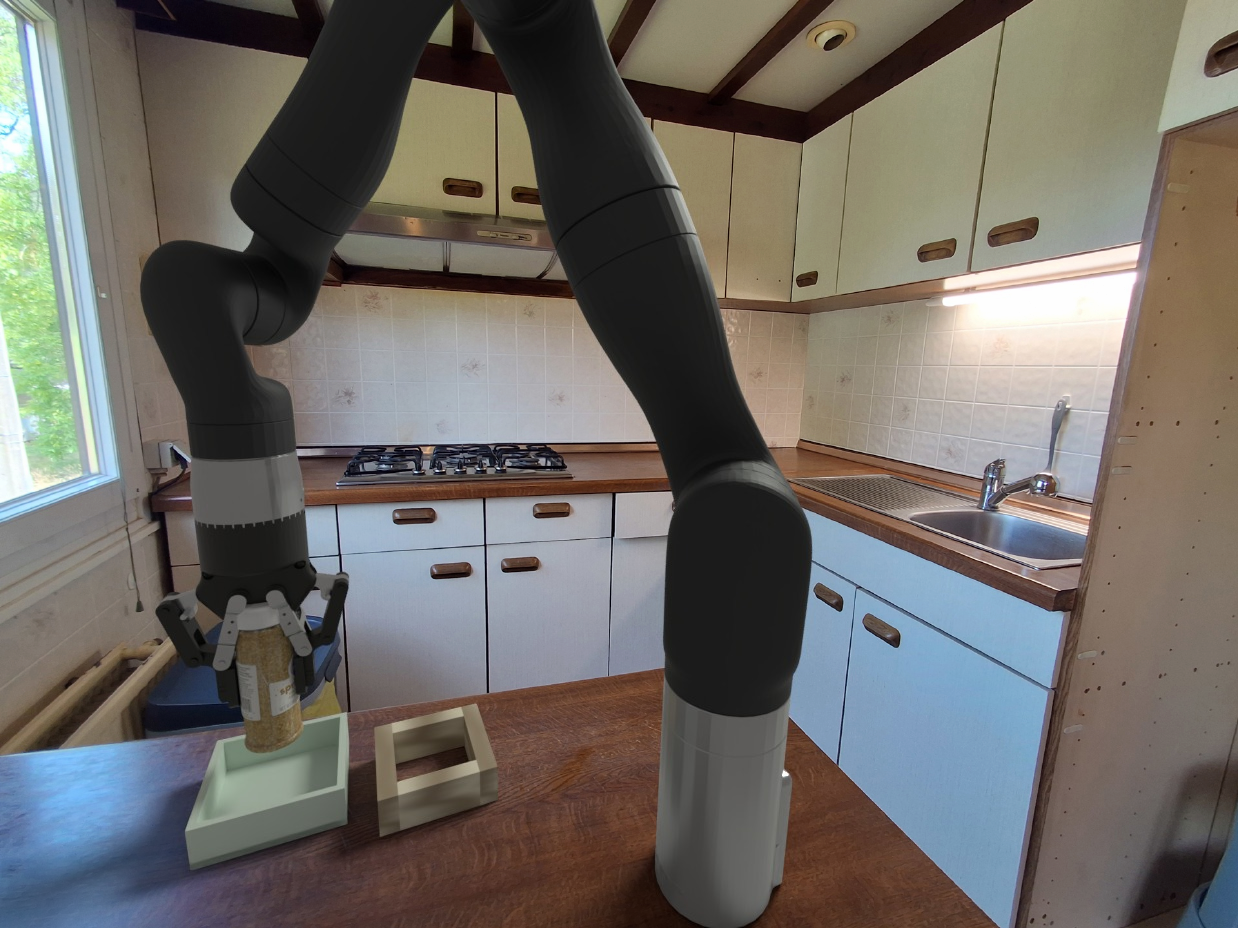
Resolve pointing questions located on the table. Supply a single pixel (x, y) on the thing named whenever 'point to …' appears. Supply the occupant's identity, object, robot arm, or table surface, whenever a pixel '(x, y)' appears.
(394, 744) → the socket block
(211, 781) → the tray
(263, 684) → the sprinkles bottle
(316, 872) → the table surface
